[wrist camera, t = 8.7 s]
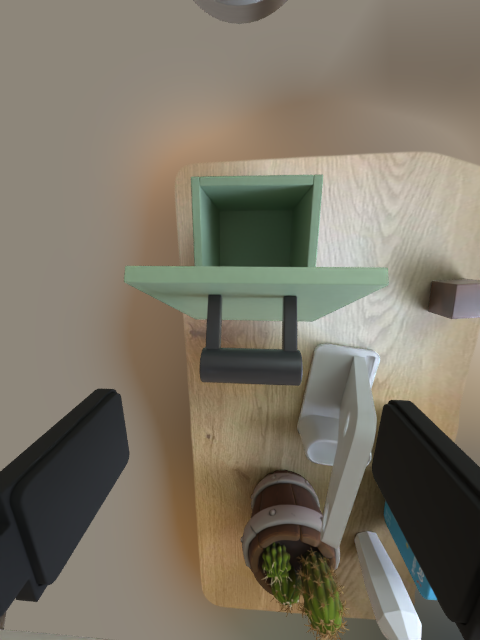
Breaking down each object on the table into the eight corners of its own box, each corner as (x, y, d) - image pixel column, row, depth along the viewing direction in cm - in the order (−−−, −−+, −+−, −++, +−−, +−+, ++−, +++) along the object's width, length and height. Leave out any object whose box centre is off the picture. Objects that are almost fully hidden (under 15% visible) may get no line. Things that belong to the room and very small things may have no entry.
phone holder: (351, 442, 42) (419, 574, 25) (294, 433, 42) (320, 557, 25) (379, 351, 38) (486, 433, 20) (315, 341, 38) (365, 414, 20)
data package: (389, 465, 43) (439, 543, 31) (416, 466, 42) (476, 545, 31) (382, 517, 46) (425, 605, 34) (407, 518, 45) (459, 607, 34)
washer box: (214, 205, 34) (190, 176, 21) (298, 205, 33) (323, 174, 21) (216, 295, 37) (196, 314, 25) (292, 296, 36) (311, 316, 24)
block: (431, 280, 34) (456, 284, 30) (465, 278, 34) (495, 281, 30) (427, 311, 36) (451, 319, 31) (460, 309, 35) (489, 317, 31)
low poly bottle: (382, 551, 48) (483, 785, 27) (349, 551, 49) (423, 781, 27) (383, 527, 46) (491, 756, 25) (349, 527, 47) (427, 752, 26)
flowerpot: (257, 525, 48) (258, 704, 29) (235, 465, 45) (219, 622, 26) (330, 515, 46) (382, 698, 27) (313, 450, 43) (359, 609, 24)
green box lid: (124, 265, 11) (113, 387, 10) (388, 267, 10) (394, 397, 10) (195, 311, 24) (192, 365, 24) (312, 313, 24) (313, 369, 23)
